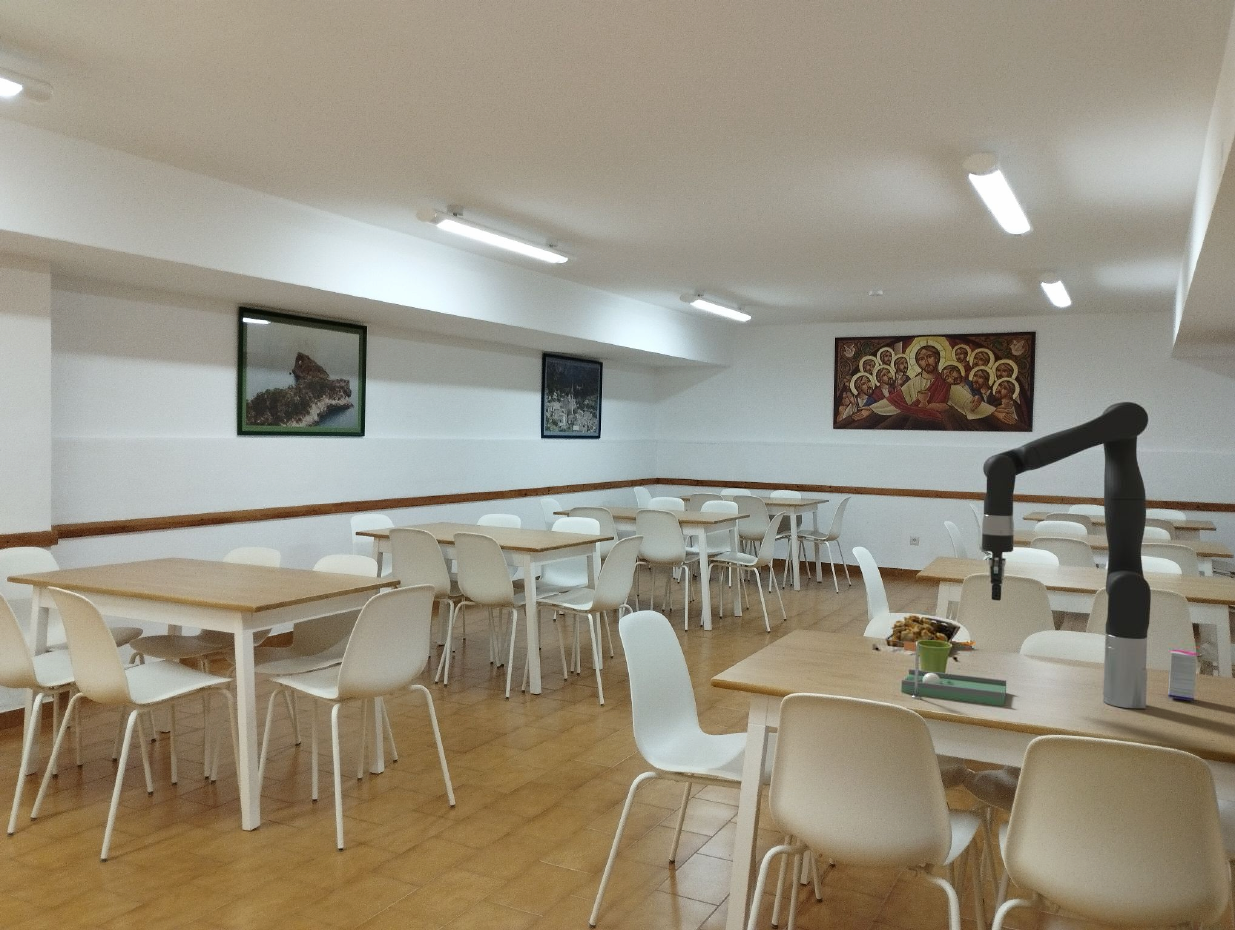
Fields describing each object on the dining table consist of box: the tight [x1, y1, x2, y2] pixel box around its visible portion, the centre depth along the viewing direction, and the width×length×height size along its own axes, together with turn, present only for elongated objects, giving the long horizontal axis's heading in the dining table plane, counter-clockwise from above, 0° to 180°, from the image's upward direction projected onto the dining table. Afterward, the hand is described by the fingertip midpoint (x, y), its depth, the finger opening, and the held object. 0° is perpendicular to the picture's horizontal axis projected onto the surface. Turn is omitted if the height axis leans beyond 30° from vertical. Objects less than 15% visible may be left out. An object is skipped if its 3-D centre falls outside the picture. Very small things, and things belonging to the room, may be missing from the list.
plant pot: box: [917, 640, 953, 673], centre depth 258 cm, size 9×9×9 cm
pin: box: [904, 641, 922, 700], centre depth 234 cm, size 4×2×14 cm, turn 65°
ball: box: [923, 673, 940, 684], centre depth 242 cm, size 4×4×4 cm
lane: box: [900, 668, 1007, 707], centre depth 240 cm, size 24×14×3 cm, turn 65°
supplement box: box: [1167, 648, 1198, 701], centre depth 241 cm, size 6×6×12 cm
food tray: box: [871, 614, 976, 662], centre depth 297 cm, size 35×26×11 cm
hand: (996, 599), depth 242 cm, fingers closed
